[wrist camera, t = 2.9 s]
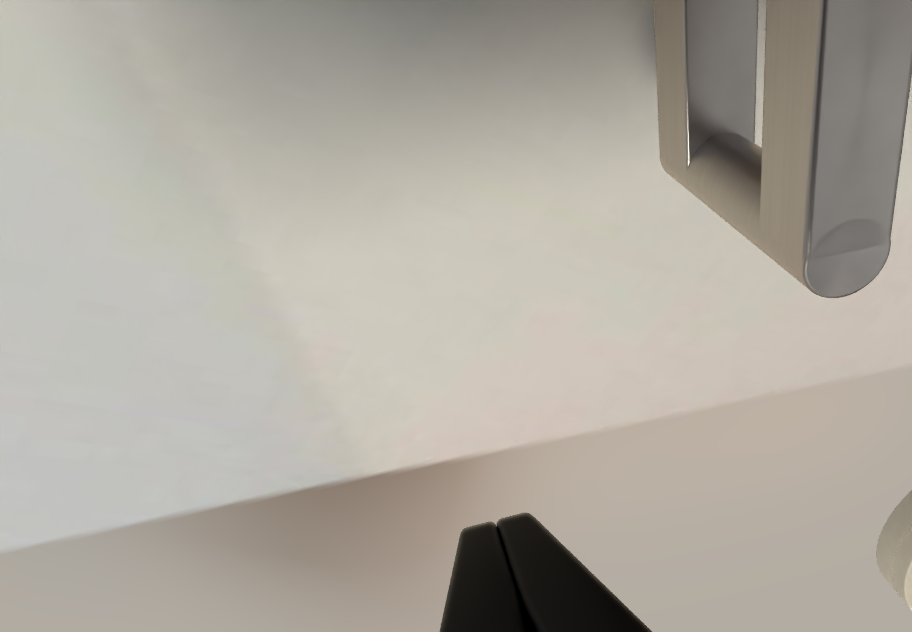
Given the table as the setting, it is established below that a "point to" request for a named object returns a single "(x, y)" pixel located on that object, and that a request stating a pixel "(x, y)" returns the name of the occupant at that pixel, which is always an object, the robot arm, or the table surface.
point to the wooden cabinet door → (790, 126)
